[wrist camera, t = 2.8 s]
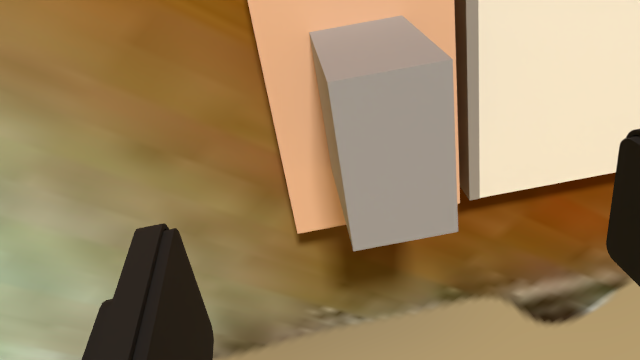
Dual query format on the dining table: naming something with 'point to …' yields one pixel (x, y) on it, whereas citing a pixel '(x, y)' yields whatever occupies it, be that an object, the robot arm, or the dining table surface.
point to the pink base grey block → (364, 113)
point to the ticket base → (543, 90)
